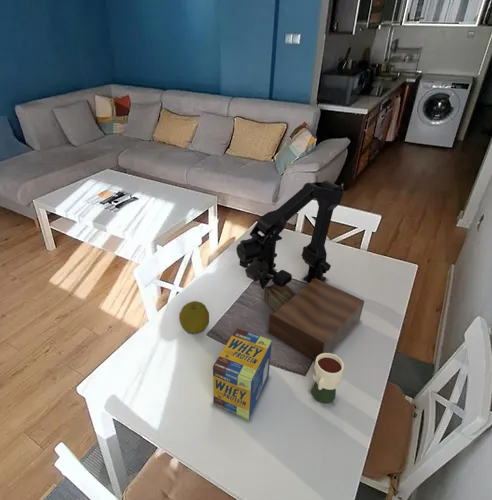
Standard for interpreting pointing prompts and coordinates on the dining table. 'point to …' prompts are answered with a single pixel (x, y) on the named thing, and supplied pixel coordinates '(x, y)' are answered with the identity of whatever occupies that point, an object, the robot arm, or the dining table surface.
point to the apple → (194, 317)
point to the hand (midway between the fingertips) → (263, 288)
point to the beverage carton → (278, 295)
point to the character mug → (327, 377)
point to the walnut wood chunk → (316, 318)
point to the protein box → (241, 372)
